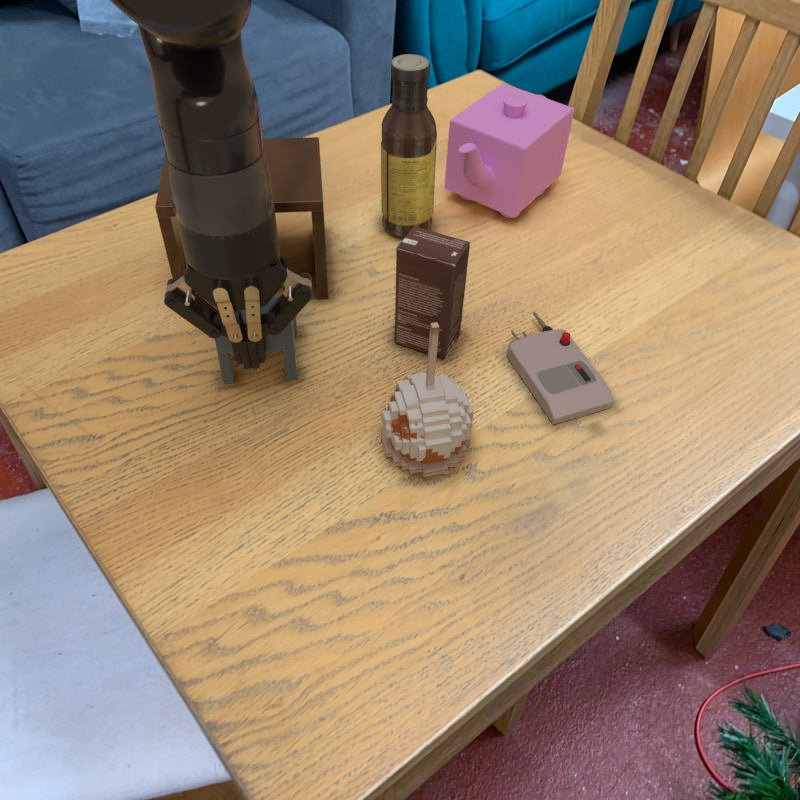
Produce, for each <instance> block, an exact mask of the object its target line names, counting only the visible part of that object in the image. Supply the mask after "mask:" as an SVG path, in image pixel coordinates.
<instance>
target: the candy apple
mask: <svg viewBox="0 0 800 800" xmlns="http://www.w3.org/2000/svg"><path fill="white" fill-rule="evenodd" d="M438 335H439V325H438V323H437V322H436V323H430V336H429V349H428V353H427V361H426V362H427V363H426V365H427V366H426V372H420V373H413V374H407V375H406V378H405V379H404V380H398V381H395V385H394V389H393V390H394V391H393V392H394V393H393V394H390V395H389V402H388V404H384V410H381V418H380V419H381V422H382V431H383V433H382V434H381V435H380V440H381V443H382V447H383V451H384V454H385V458H391V457H392V460H393V465H394V466H395V467H397V466H401V470H402V471H404V470H408V471H409V474H410V475H412V474H418V473H422V476H423V478H425V477H431V476H436V475H442V474H447V473H449V468H453V467H458V466H459V464H460V461H463V459H464V455H467V454H468V449H467V446H466V445H469V444H470V441H471V440H470V434H471V430H472V427H473V421H474V415H475V411H474V408H473V405H472V403H471V401H470V398H469V395H468V393H465V390H464V387H463V385H460V386H459V385H458V383H457V382H455V381H454V378H453V377H449V375H448V374H445V373H443V374H438V375H437V373H436V366H437V357H438V356H437V346H438Z"/></svg>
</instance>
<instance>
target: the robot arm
mask: <svg viewBox="0 0 800 800" xmlns="http://www.w3.org/2000/svg"><path fill="white" fill-rule="evenodd" d="M108 1H109V2H110V3H112V4H113V5H114V6H115V7H116V8H117V9H118V10H120V11H121V12H122V13H123V14H124V15H125V16H127V18H129V19H130V20H132V21H133V22H134V23H135V24H136V25H137V27H138V30H139V33H140V37H141V41H142V45H143V48H144V51H145V55H146V59H147V62H148V66H149V70H150V74H151V81H152V90H153V98H154V106H155V114H156V118H157V123H158V128H159V132H160V137H161V141H162V146H163V151H164V156H165V155H166V160H167V168H168V182H169V187H170V192H171V203H172V207H173V211H174V212H175V214H176V219H177V223H178V227H179V232H180V236H181V240H182V245H183V249H184V254H185V258H186V264H185V272H184V275H183V276H182V277H181V278H179V279H173V278H169V279H168V280H167V282H166V286H165V292H164V299H163V300H164V301H163V303H164V305H165V306H166V307H168V308H169V309H170V310H171V311H173V312H174V313H176V314H177V315H179V317H181V318H183V319H184V320H185V321H186V322H188V323H190V324H191V325H192V326H193V327H195V328H196V329H198V330H199V331H200V332H202V333H203V334H205V336H207V337H209V338H210V339H214V340H215V338H219V337H220V336H225V337H227V338H229V340H230V341H231V343H232V348H233V353H232V354H233V358H234V361H235V363H236V364H237V365H242V369H243V370H258V369H260V368H261V367H260V365H261V364H265V363H266V360H267V352H266V344H265V337H264V336H266V335H267V334H271V335H279V334H280V333H281V332H282V331H283V330H284V329H285V327H286V326H287V325H288V324H289V323H290V322H291V321H292V320H293V319H294V317H295V316H296V317H297V315H298V314H299V313H300V312H301V311H302V310H303V308H305V307H306V305H307V304H309V302H310V301H311V300H312V298H313V284H312V282H313V280H312V278H313V277H312V275H311V274H310V273H308V272H301V273H299V274H297V273H295V272H293V271H291V270H289V269H288V263H287V260H286V259H285V257H283V256H282V254H281V251H280V243H279V236H278V228H277V226H278V225H277V218H276V213H275V209H274V198H273V192H272V183H271V175H270V170H269V166H268V162H267V159H266V155H265V151H264V145H263V139H264V138H263V129H262V128H263V127H262V121H261V120H262V119H261V113H260V105H259V98H258V94H257V90H256V86H255V83H254V79H253V76H252V74H251V72H250V69H249V67H248V63H247V61H246V58H245V53H244V47H243V40H242V31H243V29H244V27H245V25H246V24H247V22H248V19H249V17H250V13H251V9H252V1H253V0H108ZM282 286H283V290H282V292H283V293H282V294H281V295H280V296H278V297H279V299H278V300H277V301H276V302H275V303H274V304H273V306H272V307H271V308H270V309H269V310H268V313H265V314H262V307H263V306H265V305H266V304H268V302H269V301H270V300H271V299H272V297H274V296H275V295H276V294H277V292H278V291H279V290H280V288H281V287H282ZM241 310H246V322H247V326H244V319H243V315H242V312H241Z"/></svg>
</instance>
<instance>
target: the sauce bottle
mask: <svg viewBox="0 0 800 800" xmlns="http://www.w3.org/2000/svg"><path fill="white" fill-rule="evenodd" d="M430 74H431V64H430V61H429V60H428V59H427V57H425V56H423V55H419V54H412V53H407V54H406V53H405V54H400V55H397V56H394V57H393V58H392V59H391V61H390V76H391V79H392V94H391V105H390V107H389V108H388V110H387V111H386V112H385V114H384V116H383V118H382V121H381V142H380V185H381V186H380V188H381V191H380V192H381V193H380V195H381V215H382V218H381V221H382V225H383V228H384V229H385V231H386V232H387V233H388V234H390V235H391V236H393V237H394V236H395V237H398V238H403V239H404V238H405V237H406V236H407V235H408V233H409V232H410V231H411V230H412V228H413V227H414V226H416V227H419V228H422V229H426V230H429V231H430V228H431V225H432V224H433V223H432V222H433V214H434V208H435V184H436V183H435V181H436V165H437V164H436V163H437V159H436V158H437V142H438V131H437V123H436V119H435V117H434V115H433V113H432V112H431V110H430V108H429V106H428V101H429V97H428V90H429V87H428V86H429V85H428V82H429V77H430Z"/></svg>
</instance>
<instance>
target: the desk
mask: <svg viewBox="0 0 800 800" xmlns="http://www.w3.org/2000/svg"><path fill="white" fill-rule="evenodd" d="M263 145H264V151H265V155H266V159H267V162H268V166H269V170H270V175H271V183H272V192H273V198H274V209H275V214H283V213H307V212H308V213H309V212H311V225H312V239H313V254H314V255H313V257H314V269H315V285H316V298H317V300H328V299H329V284H328V283H329V282H328V265H327V247H326V245H327V244H326V230H325V229H326V228H325V227H326V226H325V210H324V192H323V179H322V177H323V176H322V162H321V147H320V137H319V136H314V137H313V136H312V137H311V136H310V137H280V138H279V137H277V138H275V137H273V138H271V137H270V138H263ZM154 208H155V212H156V216H157V221H158V225H159V229H160V233H161V237H162V241H163V245H164V249H165V254H166V257H167V261H168V265H169V270H170V274H171V279H179V278H181V277H182V276H183V275H184V272H185V264H186V258H185V254H184V249H183V245H182V240H181V236H180V232H179V227H178V223H177V219H176V214H175V212H174V211H173V207H172V203H171V192H170V187H169V182H168V168H167V160H166V155H165V154H164V157H163V162H162V168H161V173H160V178H159V183H158V189H157V194H156V200H155V206H154Z"/></svg>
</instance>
